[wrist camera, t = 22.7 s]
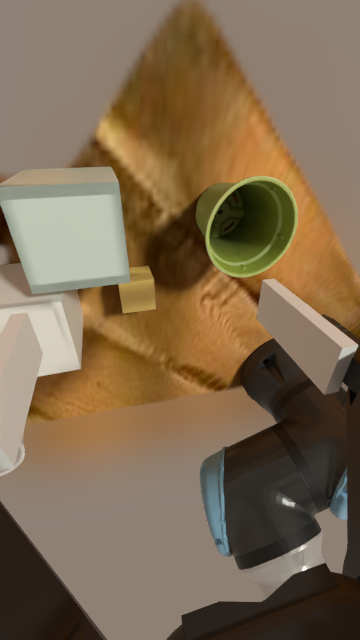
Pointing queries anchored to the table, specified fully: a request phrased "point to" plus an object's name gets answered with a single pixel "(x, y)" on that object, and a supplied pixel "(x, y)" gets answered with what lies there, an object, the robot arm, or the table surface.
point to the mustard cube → (138, 291)
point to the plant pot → (247, 224)
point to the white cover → (45, 319)
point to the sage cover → (67, 227)
